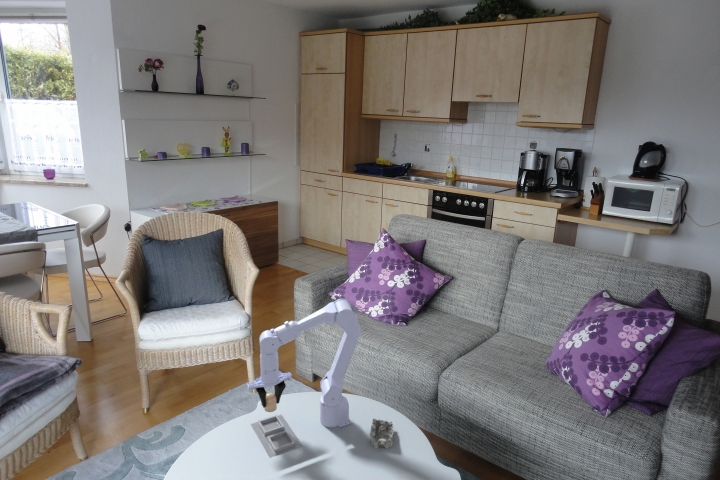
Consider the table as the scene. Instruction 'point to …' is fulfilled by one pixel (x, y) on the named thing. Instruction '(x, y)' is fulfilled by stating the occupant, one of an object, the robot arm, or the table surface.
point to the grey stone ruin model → (381, 433)
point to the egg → (270, 402)
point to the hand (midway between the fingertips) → (270, 403)
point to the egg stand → (276, 435)
